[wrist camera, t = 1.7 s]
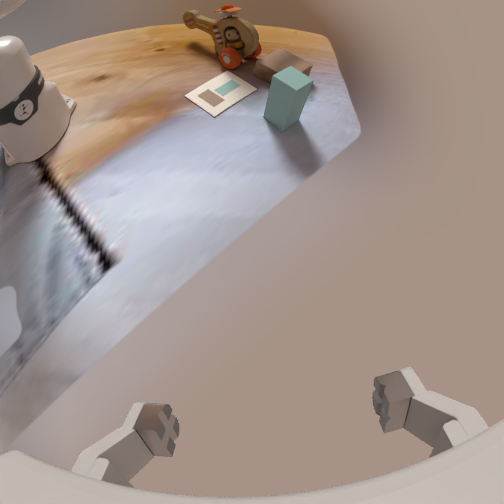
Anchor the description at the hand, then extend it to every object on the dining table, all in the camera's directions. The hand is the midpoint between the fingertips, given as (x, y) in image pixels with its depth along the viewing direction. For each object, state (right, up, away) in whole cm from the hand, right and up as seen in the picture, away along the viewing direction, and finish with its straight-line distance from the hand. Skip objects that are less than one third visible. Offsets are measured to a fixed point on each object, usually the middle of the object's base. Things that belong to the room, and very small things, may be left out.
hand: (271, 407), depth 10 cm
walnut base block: (+5, +42, +41) cm, 58 cm away
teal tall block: (+4, +29, +37) cm, 47 cm away
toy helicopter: (-8, +50, +41) cm, 65 cm away
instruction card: (-6, +35, +37) cm, 52 cm away
